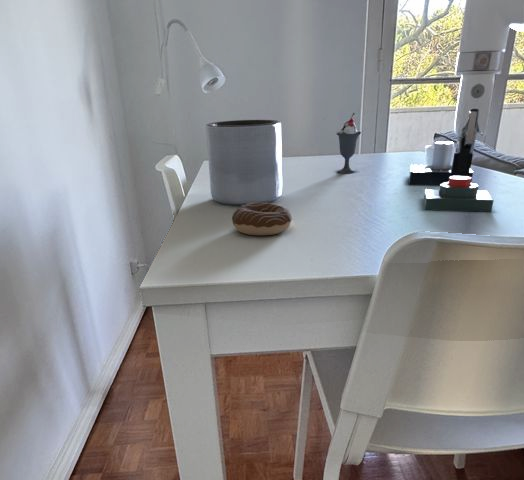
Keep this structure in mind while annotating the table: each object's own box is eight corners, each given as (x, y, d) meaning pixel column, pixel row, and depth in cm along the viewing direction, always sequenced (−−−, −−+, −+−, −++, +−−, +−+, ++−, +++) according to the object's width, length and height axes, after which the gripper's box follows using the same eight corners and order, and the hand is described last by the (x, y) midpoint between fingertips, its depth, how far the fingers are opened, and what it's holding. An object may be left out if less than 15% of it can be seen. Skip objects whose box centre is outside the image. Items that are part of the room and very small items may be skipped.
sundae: (353, 174, 129) (357, 113, 122) (330, 172, 132) (333, 113, 125) (362, 170, 134) (366, 111, 126) (340, 169, 137) (343, 111, 130)
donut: (239, 221, 89) (238, 199, 87) (295, 222, 87) (295, 200, 85) (225, 237, 80) (224, 213, 78) (287, 239, 78) (287, 214, 76)
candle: (415, 171, 130) (418, 146, 127) (440, 168, 133) (443, 143, 130) (438, 175, 123) (442, 149, 120) (464, 172, 126) (469, 146, 123)
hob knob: (431, 166, 117) (434, 140, 114) (449, 167, 116) (453, 140, 113) (431, 169, 114) (435, 142, 111) (449, 169, 113) (454, 142, 110)
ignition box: (484, 201, 96) (488, 181, 94) (491, 211, 89) (495, 190, 87) (423, 200, 99) (426, 180, 97) (424, 210, 92) (427, 188, 90)
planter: (207, 208, 99) (200, 126, 91) (215, 192, 113) (209, 121, 105) (283, 206, 98) (283, 124, 91) (281, 190, 112) (281, 118, 105)
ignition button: (468, 185, 94) (470, 175, 93) (470, 189, 90) (472, 179, 89) (447, 184, 95) (448, 175, 94) (448, 188, 91) (450, 179, 90)
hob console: (466, 178, 119) (468, 164, 117) (470, 185, 110) (473, 171, 109) (409, 177, 122) (410, 164, 121) (409, 184, 114) (410, 171, 112)
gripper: (510, 63, 75) (485, 183, 84) (495, 65, 88) (475, 169, 97) (460, 64, 77) (441, 182, 86) (452, 66, 89) (437, 168, 98)
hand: (459, 175), depth 91 cm, fingers closed
